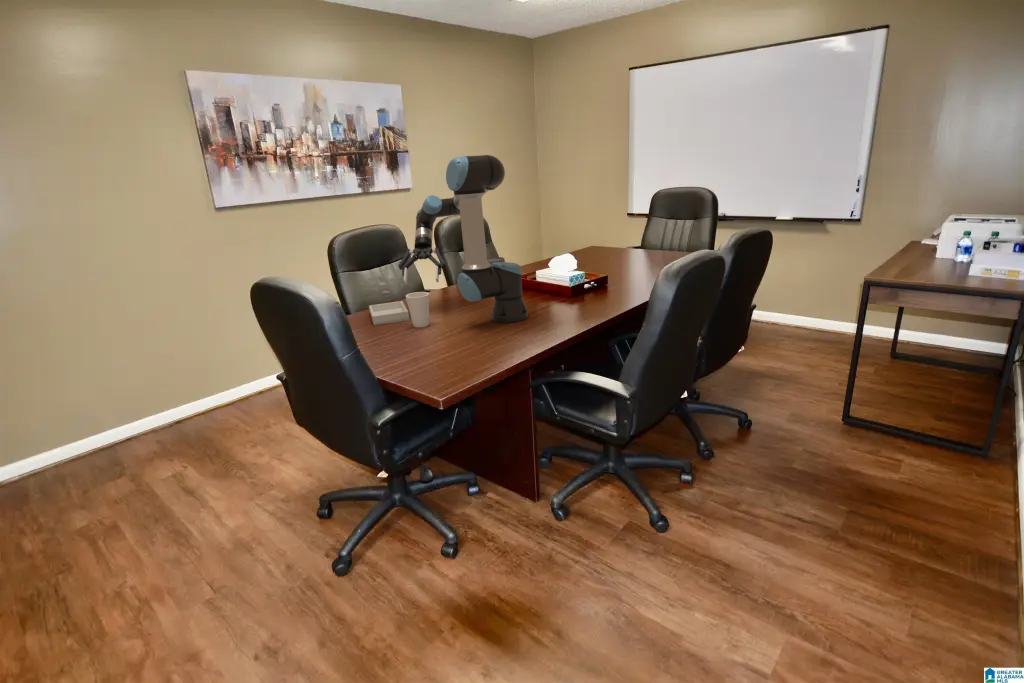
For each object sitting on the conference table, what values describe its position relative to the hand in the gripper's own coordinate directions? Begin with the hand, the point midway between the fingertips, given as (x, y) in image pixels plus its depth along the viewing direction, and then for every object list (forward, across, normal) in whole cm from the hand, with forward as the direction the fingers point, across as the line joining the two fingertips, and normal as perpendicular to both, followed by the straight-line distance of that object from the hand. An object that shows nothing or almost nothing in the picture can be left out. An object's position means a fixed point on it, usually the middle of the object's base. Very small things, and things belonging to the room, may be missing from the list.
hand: (421, 281), depth 224 cm
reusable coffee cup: (-22, -28, -46) cm, 58 cm away
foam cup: (+19, 0, -4) cm, 20 cm away
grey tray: (+9, +17, -14) cm, 24 cm away
